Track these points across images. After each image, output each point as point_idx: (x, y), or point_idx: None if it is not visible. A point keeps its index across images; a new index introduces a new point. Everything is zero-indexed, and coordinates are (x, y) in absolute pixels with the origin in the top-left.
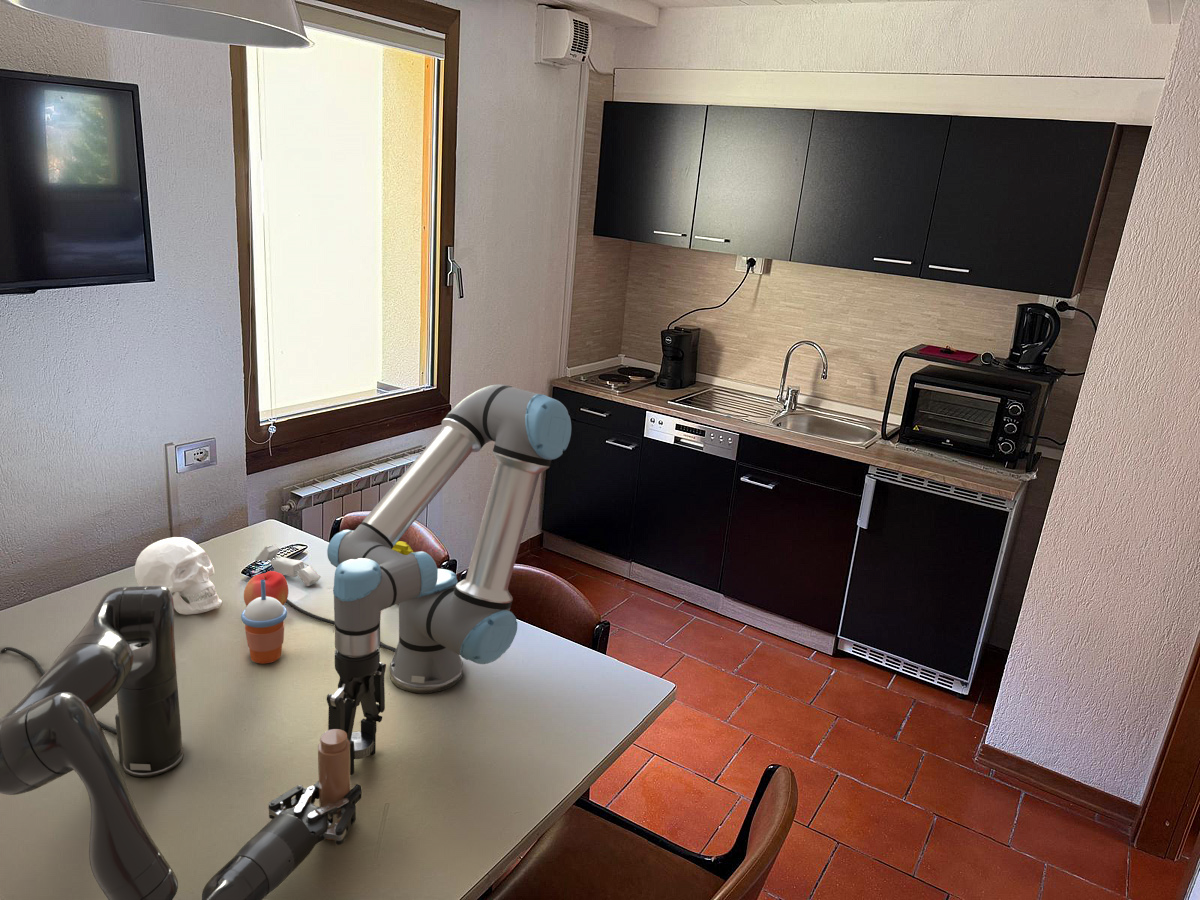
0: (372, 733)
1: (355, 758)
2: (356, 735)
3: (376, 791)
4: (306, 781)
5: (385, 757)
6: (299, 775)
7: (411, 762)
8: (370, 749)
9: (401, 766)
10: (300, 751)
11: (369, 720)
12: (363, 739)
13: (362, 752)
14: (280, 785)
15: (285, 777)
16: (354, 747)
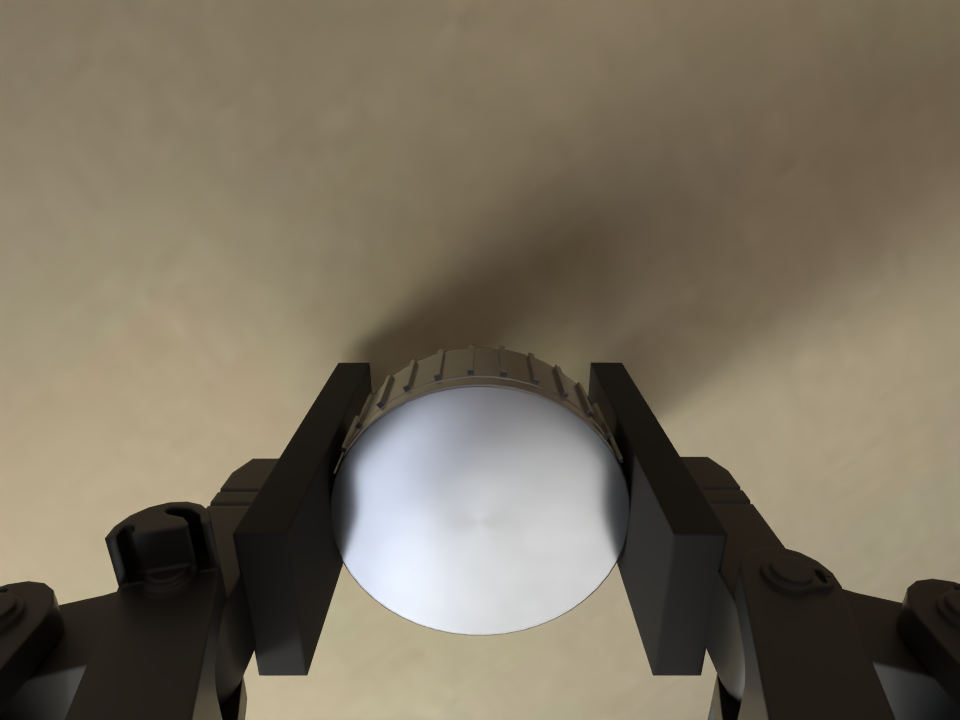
0: (321, 471)
1: (596, 412)
2: (417, 569)
3: (693, 91)
4: None
5: (325, 277)
6: None
7: (252, 43)
8: (474, 363)
9: (342, 93)
10: (543, 707)
11: (247, 610)
12: (432, 489)
13: (566, 394)
14: None
15: None
16: (576, 488)
